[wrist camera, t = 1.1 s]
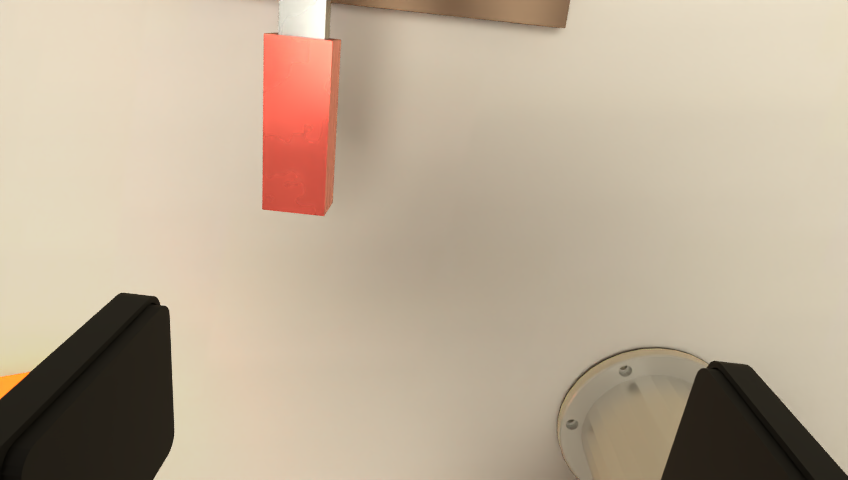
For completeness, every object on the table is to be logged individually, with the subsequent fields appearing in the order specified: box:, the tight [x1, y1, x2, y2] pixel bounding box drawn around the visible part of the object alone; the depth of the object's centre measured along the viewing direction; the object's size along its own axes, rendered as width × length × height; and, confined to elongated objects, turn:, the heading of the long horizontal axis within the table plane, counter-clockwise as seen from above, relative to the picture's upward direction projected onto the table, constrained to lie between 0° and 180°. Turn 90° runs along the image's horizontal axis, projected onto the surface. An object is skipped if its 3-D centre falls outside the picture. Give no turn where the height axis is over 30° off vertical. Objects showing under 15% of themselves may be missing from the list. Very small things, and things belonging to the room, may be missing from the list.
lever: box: [262, 0, 341, 216], centre depth 23 cm, size 3×16×3 cm, turn 174°
